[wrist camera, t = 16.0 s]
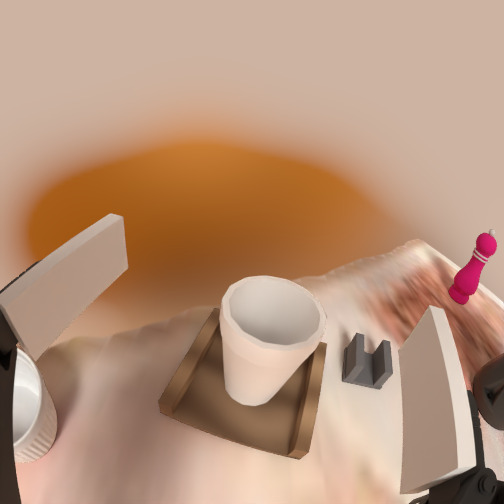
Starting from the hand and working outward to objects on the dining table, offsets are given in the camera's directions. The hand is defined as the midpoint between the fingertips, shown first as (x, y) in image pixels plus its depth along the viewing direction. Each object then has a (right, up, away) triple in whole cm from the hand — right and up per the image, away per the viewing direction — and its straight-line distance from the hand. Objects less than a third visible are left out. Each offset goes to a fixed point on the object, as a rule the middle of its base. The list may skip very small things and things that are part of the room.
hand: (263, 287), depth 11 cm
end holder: (-1, -15, +21) cm, 25 cm away
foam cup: (-1, -15, +20) cm, 25 cm away
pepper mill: (+52, -10, +46) cm, 70 cm away
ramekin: (-27, -18, +8) cm, 33 cm away
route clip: (+15, -16, +25) cm, 33 cm away
